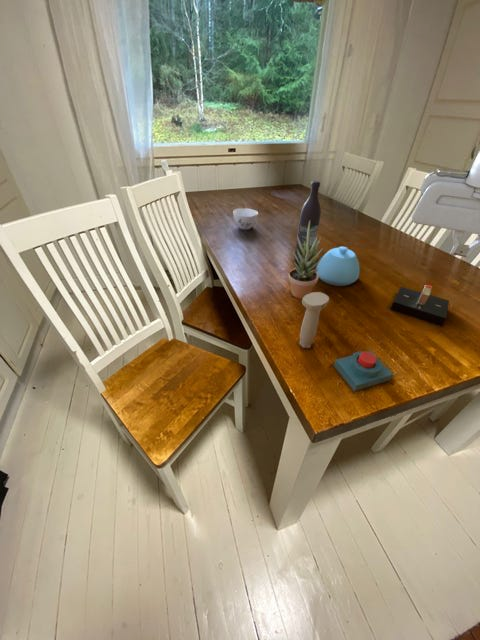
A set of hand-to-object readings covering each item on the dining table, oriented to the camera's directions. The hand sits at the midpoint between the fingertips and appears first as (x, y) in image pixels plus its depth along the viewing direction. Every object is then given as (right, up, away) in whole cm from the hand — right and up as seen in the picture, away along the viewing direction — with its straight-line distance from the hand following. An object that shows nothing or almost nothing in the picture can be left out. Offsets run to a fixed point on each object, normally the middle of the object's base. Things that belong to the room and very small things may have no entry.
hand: (459, 254), depth 52 cm
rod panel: (+14, -9, +34) cm, 38 cm away
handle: (-24, -19, +21) cm, 38 cm away
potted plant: (-22, -4, +40) cm, 46 cm away
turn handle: (+14, -7, +32) cm, 36 cm away
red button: (-13, -22, +11) cm, 28 cm away
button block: (-13, -25, +13) cm, 31 cm away
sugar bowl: (-6, +3, +49) cm, 50 cm away
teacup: (-39, +35, +89) cm, 103 cm away
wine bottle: (-17, +10, +58) cm, 61 cm away
